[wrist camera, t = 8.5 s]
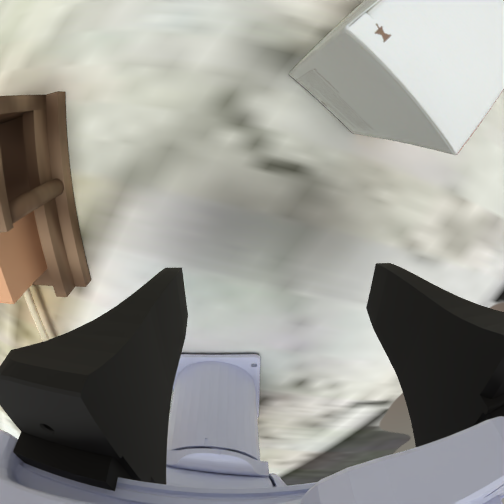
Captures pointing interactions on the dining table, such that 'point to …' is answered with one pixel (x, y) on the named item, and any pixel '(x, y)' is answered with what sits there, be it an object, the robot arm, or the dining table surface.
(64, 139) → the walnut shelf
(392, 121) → the small box
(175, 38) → the dining table surface
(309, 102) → the dining table surface
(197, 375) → the robot arm
